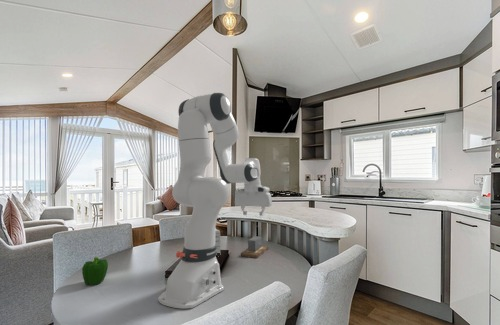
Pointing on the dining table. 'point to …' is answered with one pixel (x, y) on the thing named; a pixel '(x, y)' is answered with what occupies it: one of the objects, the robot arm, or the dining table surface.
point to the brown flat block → (254, 254)
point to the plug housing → (254, 244)
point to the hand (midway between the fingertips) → (253, 215)
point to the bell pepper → (94, 271)
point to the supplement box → (217, 240)
